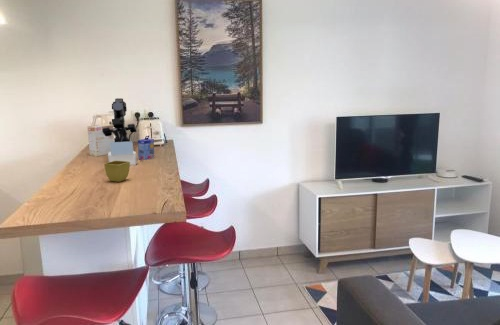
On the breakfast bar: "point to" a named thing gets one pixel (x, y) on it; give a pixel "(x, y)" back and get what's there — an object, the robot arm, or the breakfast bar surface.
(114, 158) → the carton
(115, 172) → the flower pot
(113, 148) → the flap
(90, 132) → the coffeecake box
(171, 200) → the breakfast bar surface
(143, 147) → the ink cartridge box
